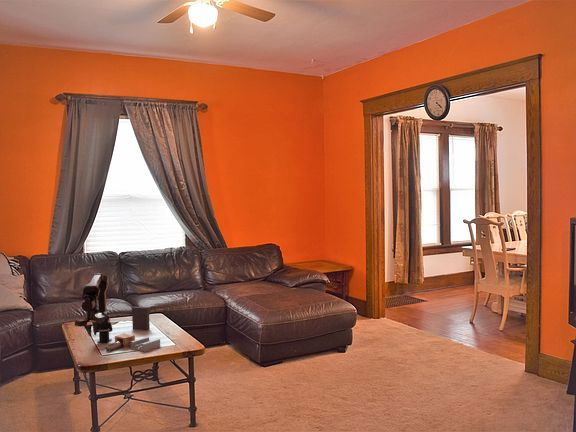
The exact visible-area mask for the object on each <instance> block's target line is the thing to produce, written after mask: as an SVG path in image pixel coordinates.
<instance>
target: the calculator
mask: <svg viewBox="0 0 576 432" xmlns="http://www.w3.org/2000/svg"><path fill="white" fill-rule="evenodd" d="M131 315H132V319H131V320H132V322H131V323H132V331H147V332H148V331H149V330H150V329H151V328H150V307H149V306H132V307H131Z"/></svg>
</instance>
